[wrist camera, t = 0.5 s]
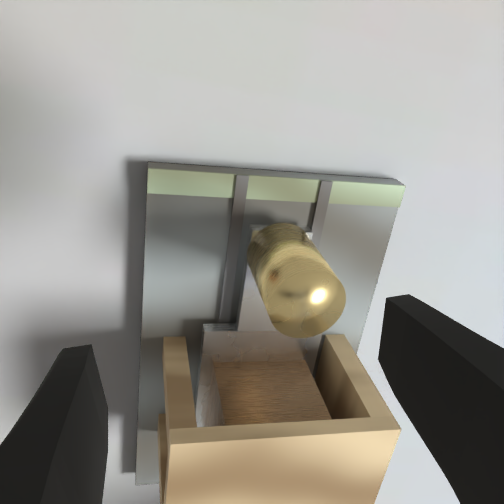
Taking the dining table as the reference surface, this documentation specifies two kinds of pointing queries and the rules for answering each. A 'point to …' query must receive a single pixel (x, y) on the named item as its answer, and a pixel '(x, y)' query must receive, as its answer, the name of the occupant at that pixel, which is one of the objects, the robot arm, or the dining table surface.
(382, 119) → the dining table surface
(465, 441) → the robot arm
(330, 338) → the track
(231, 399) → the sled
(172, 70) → the dining table surface
